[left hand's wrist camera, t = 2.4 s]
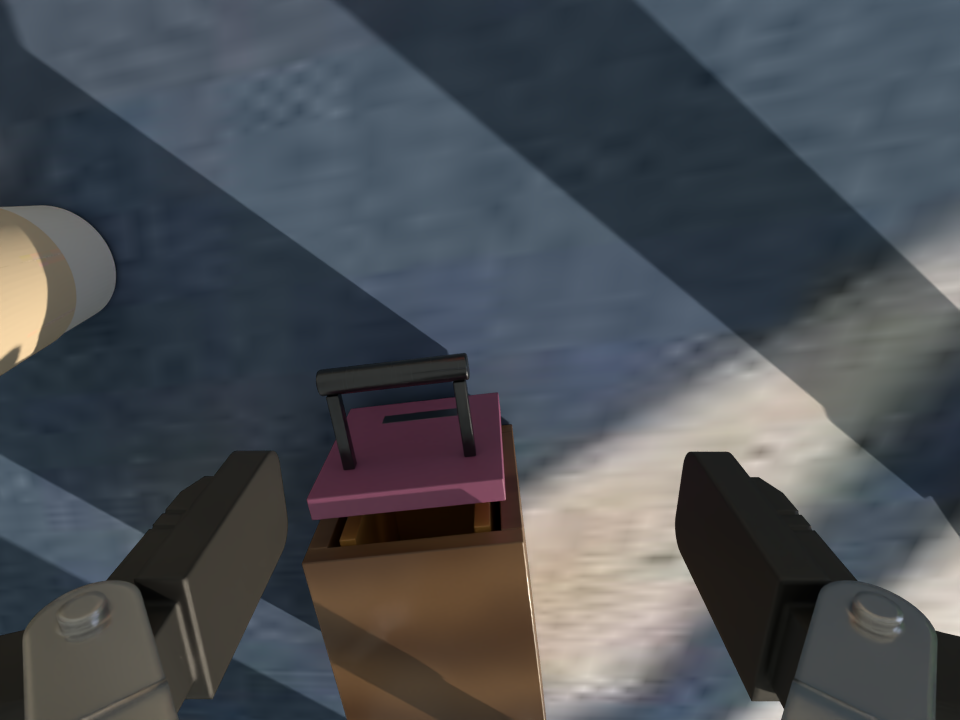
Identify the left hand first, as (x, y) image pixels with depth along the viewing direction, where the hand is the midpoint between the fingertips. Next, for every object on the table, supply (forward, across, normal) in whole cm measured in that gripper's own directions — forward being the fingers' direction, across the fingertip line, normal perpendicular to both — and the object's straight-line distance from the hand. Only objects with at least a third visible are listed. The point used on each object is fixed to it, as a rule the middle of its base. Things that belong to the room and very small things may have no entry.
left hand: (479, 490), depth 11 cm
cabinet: (+24, +2, +22) cm, 32 cm away
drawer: (+23, +3, +16) cm, 28 cm away
